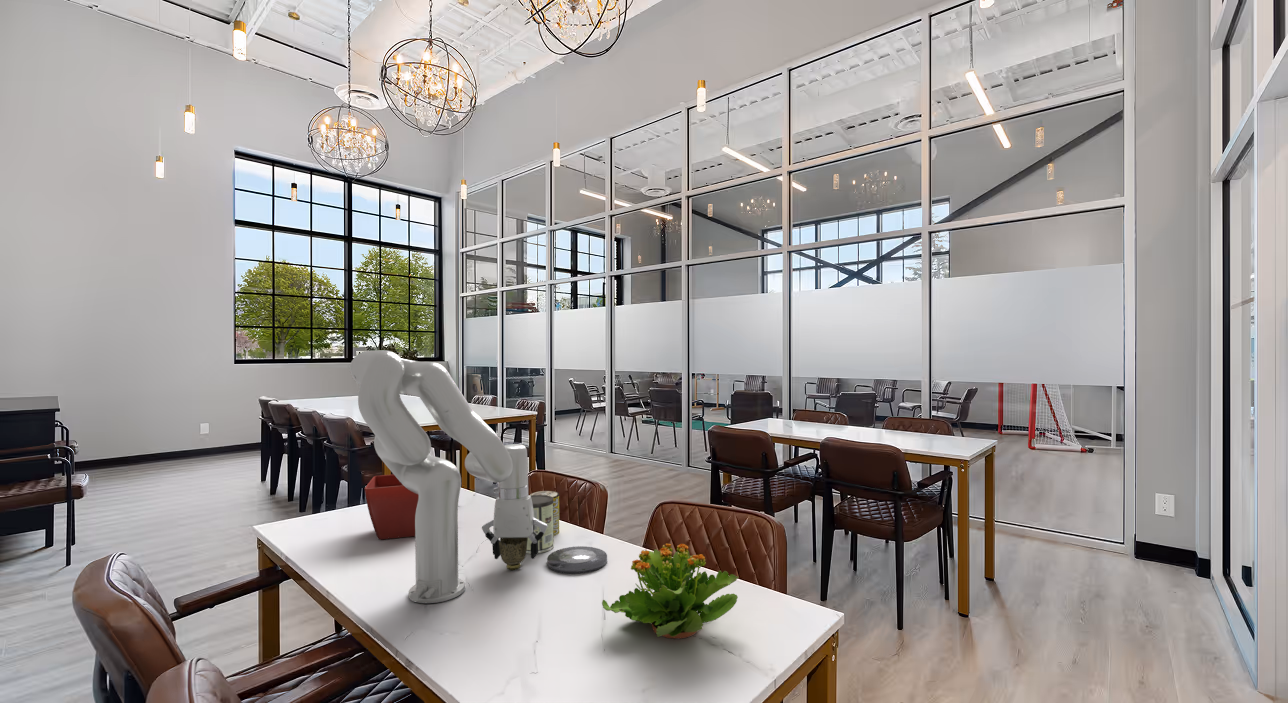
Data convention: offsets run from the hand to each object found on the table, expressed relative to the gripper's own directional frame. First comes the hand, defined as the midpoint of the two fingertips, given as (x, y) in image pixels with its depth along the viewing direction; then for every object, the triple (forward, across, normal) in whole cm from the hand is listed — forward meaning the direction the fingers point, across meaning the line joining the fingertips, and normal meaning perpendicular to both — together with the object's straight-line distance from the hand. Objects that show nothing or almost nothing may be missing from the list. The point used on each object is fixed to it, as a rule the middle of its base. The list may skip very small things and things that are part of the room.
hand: (515, 557), depth 148 cm
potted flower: (+3, +42, -31) cm, 52 cm away
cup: (+3, 0, -1) cm, 3 cm away
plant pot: (+3, -44, +28) cm, 53 cm away
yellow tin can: (+4, +1, +29) cm, 29 cm away
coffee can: (+4, +2, +15) cm, 16 cm away
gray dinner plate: (+3, +16, +4) cm, 16 cm away
